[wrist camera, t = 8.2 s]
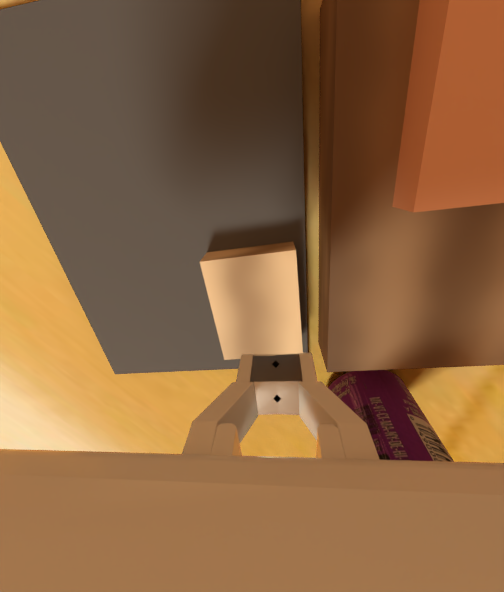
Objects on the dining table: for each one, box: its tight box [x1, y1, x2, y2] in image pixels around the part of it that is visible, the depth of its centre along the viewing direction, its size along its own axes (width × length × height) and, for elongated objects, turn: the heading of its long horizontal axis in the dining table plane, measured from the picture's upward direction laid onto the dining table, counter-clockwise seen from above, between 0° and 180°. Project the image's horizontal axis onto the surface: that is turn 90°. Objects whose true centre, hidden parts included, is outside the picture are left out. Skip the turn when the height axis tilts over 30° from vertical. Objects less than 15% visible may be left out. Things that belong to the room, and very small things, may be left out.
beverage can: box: [328, 370, 454, 462], centre depth 18 cm, size 7×7×12 cm
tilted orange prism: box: [392, 0, 504, 213], centre depth 9 cm, size 6×8×2 cm
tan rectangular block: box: [200, 242, 303, 360], centre depth 18 cm, size 6×8×2 cm
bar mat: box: [0, 0, 308, 374], centre depth 17 cm, size 18×24×1 cm
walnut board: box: [318, 0, 504, 372], centre depth 14 cm, size 14×20×4 cm
